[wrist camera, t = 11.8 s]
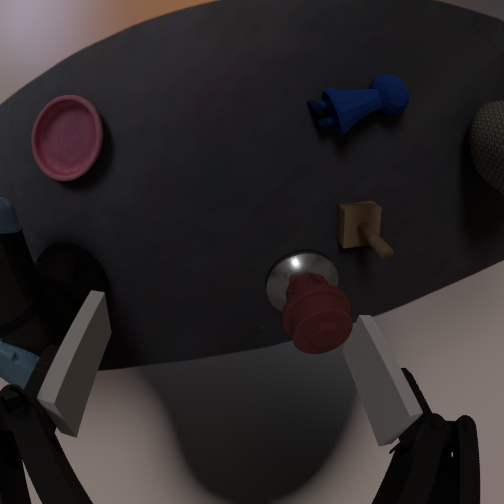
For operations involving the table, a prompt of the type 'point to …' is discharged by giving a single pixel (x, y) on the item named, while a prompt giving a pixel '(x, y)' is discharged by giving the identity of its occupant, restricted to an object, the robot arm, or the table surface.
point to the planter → (489, 143)
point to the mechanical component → (316, 314)
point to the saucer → (67, 137)
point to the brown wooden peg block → (361, 227)
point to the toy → (360, 102)
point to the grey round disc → (297, 273)
